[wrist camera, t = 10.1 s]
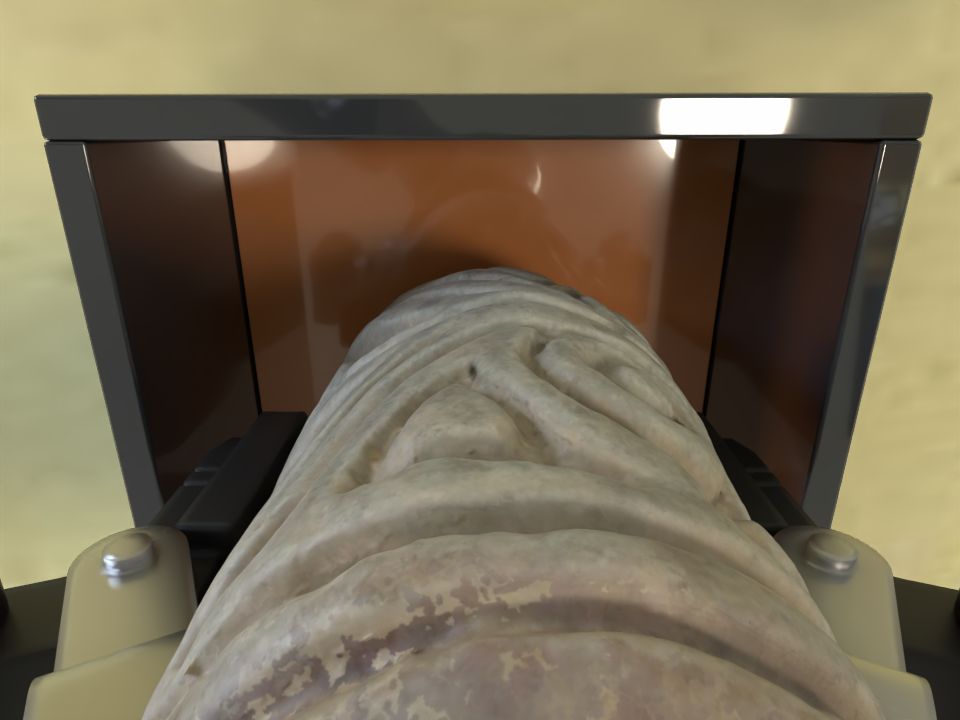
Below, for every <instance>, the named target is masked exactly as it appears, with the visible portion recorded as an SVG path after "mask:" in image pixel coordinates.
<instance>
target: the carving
mask: <svg viewBox="0 0 960 720" xmlns="http://www.w3.org/2000/svg"><path fill="white" fill-rule="evenodd" d="M142 720H886V718H885V715H884V713H883V711H882V709H881V707H880V705H879V703H878V701H877V699H876V697H875V695H874V693H873V692H872V690H871V688H870V686H869V685H868V683H867V682H866V680H865V679H864V677H863V676H862V674H861V673H860V672H859V670H858V669H857V667H856V666H855V665H854V664H853V662H852V661H851V660H850V659H849V658H848V656H847V655H846V654H845V653H844V652H843V650H842V649H841V648H840V647H839V646H838V645H837V642H836V639H835V637H834V634H833V632H832V630H831V628H830V626H829V624H828V622H827V621H826V619H825V618H824V616H823V614H822V613H821V611H820V610H819V608H818V606H817V605H816V603H815V602H814V601H813V599H812V598H811V597H810V594H809V591H808V589H807V587H806V584H805V582H804V580H803V579H802V577H801V575H800V573H799V572H798V570H797V569H796V566H795V564H794V563H793V562H792V560H791V559H790V558H789V557H788V556H787V554H786V553H785V552H784V550H783V549H782V548H781V547H780V545H779V544H778V543H777V542H776V541H775V540H774V539H773V537H772V536H771V535H770V534H769V533H768V532H767V531H766V530H765V529H764V528H763V527H762V526H760V525H759V524H758V523H756V522H754V521H751V519H750V516H749V514H748V512H747V510H746V508H745V506H744V504H743V503H742V502H741V500H740V498H739V496H738V494H737V493H736V491H735V489H734V487H733V485H732V483H731V482H730V480H729V478H728V476H727V474H726V472H725V470H724V468H723V466H722V464H721V462H720V460H719V458H718V456H717V454H716V452H715V450H714V447H713V445H712V442H711V439H710V437H709V435H708V433H707V430H706V428H705V426H704V424H703V422H702V420H701V419H700V417H699V416H698V414H697V413H696V411H695V410H694V409H693V408H692V406H691V405H690V404H689V402H688V401H687V399H686V397H685V396H684V394H683V393H682V391H681V390H680V388H679V387H678V386H677V385H676V383H675V382H674V381H673V378H672V376H671V373H670V371H669V370H668V368H667V367H666V365H665V364H664V362H663V361H662V360H661V359H660V357H659V356H658V355H657V354H656V353H655V351H654V350H653V349H652V347H651V346H650V344H649V342H648V341H647V339H646V338H645V336H644V335H643V334H642V333H641V332H640V331H639V330H638V329H637V328H636V326H635V325H634V324H633V323H632V322H631V321H629V320H628V319H627V318H625V317H624V316H622V315H621V314H619V313H617V312H614V311H611V310H610V309H608V308H607V307H606V306H605V305H603V304H602V303H600V302H599V301H597V300H596V299H594V298H592V297H591V296H586V295H584V296H583V295H582V294H581V293H580V292H579V291H577V290H575V289H573V288H571V287H569V286H566V285H558V284H557V283H556V282H555V281H553V280H551V279H550V278H548V277H545V276H543V275H541V274H538V273H535V272H532V271H528V270H524V269H520V268H515V267H491V268H488V269H472V270H465V271H460V272H456V273H453V274H450V275H447V276H445V277H442V278H438V279H435V280H433V281H430V282H427V283H424V284H422V285H419V286H417V287H415V288H412V289H411V290H409V291H407V292H405V293H403V294H402V295H401V296H399V297H398V298H396V299H395V300H394V301H393V302H392V303H391V304H390V305H389V306H388V307H387V308H386V309H385V310H384V311H383V312H382V313H381V314H380V315H379V316H378V317H376V318H375V319H373V320H372V321H371V322H369V323H368V324H367V325H366V326H365V327H364V328H363V329H362V331H361V332H360V333H359V334H358V336H357V337H356V339H355V340H354V342H353V343H352V345H351V347H350V349H349V351H348V353H347V355H346V357H345V359H344V361H343V363H342V365H341V366H340V368H339V369H338V371H337V372H336V374H335V376H334V378H333V379H332V381H331V382H330V384H329V385H328V387H327V388H326V390H325V392H324V393H323V395H322V397H321V399H320V401H319V403H318V405H317V406H316V407H315V409H314V410H313V412H312V413H311V415H310V416H309V418H308V420H307V422H306V423H305V426H304V428H303V430H302V431H301V433H300V435H299V437H298V439H297V441H296V443H295V445H294V447H293V449H292V451H291V453H290V455H289V457H288V459H287V461H286V464H285V466H284V468H283V470H282V472H281V474H280V476H279V478H278V481H277V483H276V486H275V488H274V491H273V493H272V495H271V497H270V498H269V500H268V501H267V502H266V504H265V505H264V506H263V508H262V509H261V510H260V511H259V513H258V514H257V515H256V517H255V518H254V520H253V521H252V522H251V524H250V525H249V527H248V528H247V530H246V531H245V533H244V534H243V536H242V537H241V539H240V540H239V542H238V543H237V544H236V546H235V547H234V549H233V550H232V552H231V553H230V555H229V556H228V558H227V559H226V561H225V563H224V564H223V566H222V567H221V569H220V570H219V572H218V573H217V575H216V577H215V578H214V580H213V582H212V583H211V585H210V587H209V589H208V590H207V592H206V594H205V596H204V598H203V600H202V601H201V603H200V605H199V607H198V609H197V610H196V612H195V614H194V616H193V618H192V620H191V622H190V624H189V626H188V629H187V631H186V633H185V635H184V637H183V639H182V641H181V643H180V645H179V647H178V649H177V651H176V653H175V654H174V656H173V658H172V660H171V662H170V663H169V665H168V667H167V669H166V671H165V672H164V674H163V676H162V678H161V679H160V681H159V683H158V685H157V687H156V689H155V691H154V693H153V695H152V697H151V699H150V701H149V703H148V705H147V707H146V709H145V712H144V715H143V718H142Z"/></svg>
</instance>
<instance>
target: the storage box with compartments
mask: <svg viewBox="0 0 960 720" xmlns="http://www.w3.org/2000/svg"><path fill="white" fill-rule="evenodd" d="M932 99H933V97H932V94H930V93H928V92H898V93H372V94H38V95H36V96H34V102H35V106H36V111H37V115H38V119H39V123H40V127H41V132H42V136H43V137H44V139H46V140H49V141H47V142H45V143H44V147H45V151H46V155H47V159H48V164H49V168H50V172H51V176H52V180H53V185H54V189H55V193H56V197H57V201H58V206H59V210H60V214H61V218H62V222H63V227H64V231H65V235H66V239H67V243H68V248H69V252H70V256H71V260H72V264H73V269H74V273H75V277H76V281H77V286H78V290H79V294H80V298H81V302H82V307H83V311H84V315H85V319H86V323H87V328H88V332H89V336H90V340H91V344H92V349H93V353H94V357H95V361H96V365H97V370H98V374H99V378H100V382H101V386H102V391H103V395H104V399H105V403H106V407H107V412H108V416H109V420H110V424H111V428H112V433H113V437H114V441H115V445H116V449H117V454H118V458H119V462H120V466H121V470H122V475H123V479H124V483H125V487H126V491H127V496H128V500H129V504H130V508H131V512H132V517H133V521H134V525H135V528H137V527H143V526H148V524H149V523H150V522H151V521H152V520H153V518H154V517H155V516H156V515H157V514H158V512H159V511H160V510H161V509H162V508H163V506H164V505H165V504H166V503H167V502H168V500H169V499H170V498H171V497H172V496H173V494H174V493H175V492H176V491H177V490H178V488H179V487H180V486H183V485H184V481H185V480H186V479H187V478H188V476H189V475H190V474H191V473H192V472H195V468H196V467H197V466H198V464H199V463H200V462H201V461H202V460H203V458H204V457H205V456H206V455H207V453H208V452H209V451H211V450H213V449H214V448H216V447H218V446H219V445H221V444H223V443H224V442H226V441H227V440H229V439H231V438H242V437H243V436H244V435H245V433H246V432H247V431H248V429H249V428H250V427H251V426H252V424H253V423H254V422H255V420H256V419H257V418H258V416H259V415H260V414H261V413H262V412H264V411H304V412H305V413H306V414H307V416H308V418H309V416H310V415H311V413H312V412H313V410H314V409H315V407H316V406H317V405H318V403H319V401H320V399H321V397H322V395H323V393H324V392H325V390H326V388H327V387H328V385H329V384H330V382H331V381H332V379H333V378H334V376H335V374H336V372H337V371H338V369H339V368H340V366H341V365H342V363H343V361H344V359H345V357H346V355H347V353H348V351H349V349H350V347H351V345H352V343H353V342H354V340H355V339H356V337H357V336H358V334H359V333H360V332H361V331H362V329H363V328H364V327H365V326H366V325H367V324H368V323H369V322H371V321H372V320H373V319H375V318H376V317H378V316H379V315H380V314H381V313H382V312H383V311H384V310H385V309H386V308H387V307H388V306H389V305H390V304H391V303H392V302H393V301H394V300H395V299H396V298H398V297H399V296H401V295H402V294H403V293H405V292H407V291H409V290H411V289H412V288H415V287H417V286H419V285H422V284H424V283H427V282H430V281H433V280H435V279H438V278H442V277H445V276H447V275H450V274H453V273H456V272H460V271H465V270H472V269H488V268H491V267H515V268H520V269H524V270H528V271H532V272H535V273H538V274H541V275H543V276H545V277H548V278H550V279H551V280H553V281H555V282H556V283H557V284H558V285H566V286H569V287H571V288H573V289H575V290H577V291H579V292H580V293H581V294H582V295H583V296H584V295H586V296H591V297H592V298H594V299H596V300H597V301H599V302H600V303H602V304H603V305H605V306H606V307H607V308H608V309H610V310H611V311H614V312H617V313H619V314H621V315H622V316H624V317H625V318H627V319H628V320H629V321H631V322H632V323H633V324H634V325H635V326H636V328H637V329H638V330H639V331H640V332H641V333H642V334H643V335H644V336H645V338H646V339H647V341H648V342H649V344H650V346H651V347H652V349H653V350H654V351H655V353H656V354H657V355H658V356H659V357H660V359H661V360H662V361H663V362H664V364H665V365H666V367H667V368H668V370H669V371H670V373H671V376H672V378H673V381H674V382H675V383H676V385H677V386H678V387H679V388H680V390H681V391H682V393H683V394H684V396H685V397H686V399H687V401H688V402H689V404H690V405H691V406H692V408H693V409H694V410H695V411H696V412H701V413H702V414H703V415H704V416H705V417H706V419H707V420H708V421H709V423H710V424H711V425H712V426H713V428H714V429H715V430H716V432H717V433H718V434H719V435H720V437H721V438H732V439H733V440H735V441H737V442H738V443H740V444H742V445H743V446H745V447H747V448H748V449H750V450H752V451H753V452H755V453H756V454H757V455H758V457H759V458H760V459H761V460H762V461H763V463H764V464H765V465H766V466H767V467H768V469H769V473H773V474H774V476H775V477H776V478H777V479H778V480H779V482H780V483H781V487H784V488H785V489H786V490H787V491H788V492H789V493H790V495H791V496H792V497H793V498H794V499H795V501H796V502H797V503H798V504H799V505H800V507H801V508H802V509H803V510H804V511H805V513H806V514H807V515H808V516H809V517H810V518H811V520H812V521H813V522H814V523H815V524H816V526H817V527H823V528H828V529H830V528H831V524H832V520H833V515H834V511H835V507H836V503H837V498H838V494H839V490H840V486H841V482H842V477H843V473H844V469H845V465H846V461H847V456H848V452H849V448H850V444H851V440H852V435H853V431H854V427H855V423H856V419H857V414H858V410H859V406H860V402H861V397H862V393H863V389H864V385H865V381H866V376H867V372H868V368H869V364H870V360H871V355H872V351H873V347H874V343H875V339H876V334H877V330H878V326H879V322H880V318H881V313H882V309H883V305H884V301H885V296H886V292H887V288H888V284H889V280H890V275H891V271H892V267H893V263H894V259H895V254H896V250H897V246H898V242H899V238H900V233H901V229H902V225H903V221H904V217H905V212H906V208H907V204H908V200H909V195H910V191H911V187H912V183H913V179H914V174H915V170H916V166H917V162H918V158H919V153H920V149H921V142H920V141H919V140H917V139H919V138H921V137H923V135H924V132H925V128H926V124H927V120H928V116H929V111H930V107H931V103H932Z"/></svg>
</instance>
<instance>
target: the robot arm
mask: <svg viewBox="0 0 960 720" xmlns="http://www.w3.org/2000/svg"><path fill="white" fill-rule="evenodd" d="M696 413H697V414H698V416H699V417H700V419H701V420H702V422H703V424H704V426H705V428H706V430H707V433H708V435H709V437H710V439H711V442H712V445H713V447H714V450H715V452H716V454H717V456H718V458H719V460H720V462H721V464H722V466H723V468H724V470H725V472H726V474H727V476H728V478H729V480H730V482H731V483H732V485H733V487H734V489H735V491H736V493H737V494H738V496H739V498H740V500H741V502H742V503H743V504H744V506H745V508H746V510H747V512H748V514H749V516H750V519H751V521H754V522H756V523H758V524H759V525H760V526H762V527H763V528H764V529H765V530H766V531H767V532H768V533H769V534H770V535H771V536H772V537H773V539H774V540H775V541H776V542H777V543H778V544H779V545H780V547H781V548H782V549H783V550H784V552H785V553H786V554H787V556H788V557H789V558H790V559H791V560H792V562H793V563H794V564H795V566H796V569H797V570H798V572H799V573H800V575H801V577H802V579H803V580H804V582H805V584H806V587H807V589H808V591H809V594H810V597H811V598H812V599H813V601H814V602H815V603H816V605H817V606H818V608H819V610H820V611H821V613H822V614H823V616H824V618H825V619H826V621H827V622H828V624H829V626H830V628H831V630H832V632H833V634H834V637H835V639H836V642H837V645H838V646H839V647H840V648H841V649H842V650H843V652H844V653H845V654H846V655H847V656H848V658H849V659H850V660H851V661H852V662H853V664H854V665H855V666H856V667H857V669H858V670H859V672H860V673H861V674H862V676H863V677H864V679H865V680H866V682H867V683H868V685H869V686H870V688H871V690H872V692H873V693H874V695H875V697H876V699H877V701H878V703H879V705H880V707H881V709H882V711H883V713H884V715H885V718H886V720H960V589H959V590H954V589H949V588H945V587H940V586H935V585H930V584H925V583H920V582H915V581H910V580H905V579H901V578H897V577H893V574H892V570H891V568H890V566H889V564H888V563H887V561H886V560H885V559H884V558H883V557H882V556H881V555H880V554H879V553H878V552H877V551H876V550H874V549H873V548H871V547H870V546H869V545H867V544H865V543H864V542H862V541H860V540H858V539H856V538H854V537H852V536H850V535H847V534H844V533H842V532H839V531H835V530H832V529H828V528H823V527H817V526H816V524H815V523H814V522H813V521H812V520H811V518H810V517H809V516H808V515H807V514H806V513H805V511H804V510H803V509H802V508H801V507H800V505H799V504H798V503H797V502H796V501H795V499H794V498H793V497H792V496H791V495H790V493H789V492H788V491H787V490H786V489H785V488H784V487H781V483H780V482H779V480H778V479H777V478H776V477H775V476H774V474H773V473H769V469H768V467H767V466H766V465H765V464H764V463H763V461H762V460H761V459H760V458H759V457H758V455H757V454H756V453H755V452H753V451H752V450H750V449H748V448H747V447H745V446H743V445H742V444H740V443H738V442H737V441H735V440H733V439H732V438H721V437H720V435H719V434H718V433H717V432H716V430H715V429H714V428H713V426H712V425H711V424H710V423H709V421H708V420H707V419H706V417H705V416H704V415H703V414H702V413H701V412H696ZM307 420H308V416H307V414H306V413H305V412H304V411H264V412H262V413H261V414H260V415H259V416H258V418H257V419H256V420H255V422H254V423H253V424H252V426H251V427H250V428H249V429H248V431H247V432H246V433H245V435H244V436H243V437H242V438H231V439H229V440H227V441H226V442H224V443H223V444H221V445H219V446H218V447H216V448H214V449H213V450H211V451H209V452H208V453H207V455H206V456H205V457H204V458H203V460H202V461H201V462H200V463H199V464H198V466H197V467H196V468H195V472H192V473H191V474H190V475H189V476H188V478H187V479H186V480H185V481H184V485H183V486H180V487H179V488H178V490H177V491H176V492H175V493H174V494H173V496H172V497H171V498H170V499H169V500H168V502H167V503H166V504H165V505H164V506H163V508H162V509H161V510H160V511H159V512H158V514H157V515H156V516H155V517H154V518H153V520H152V521H151V522H150V523H149V524H148V526H143V527H137V528H132V529H128V530H125V531H121V532H118V533H116V534H113V535H110V536H108V537H106V538H104V539H102V540H100V541H98V542H96V543H95V544H93V545H91V546H90V547H89V548H87V549H86V550H84V551H83V552H82V553H81V554H80V555H79V556H78V557H77V558H76V559H75V560H74V561H73V563H72V564H71V566H70V568H69V570H68V574H67V576H66V577H62V578H58V579H53V580H48V581H43V582H38V583H33V584H28V585H23V586H18V587H13V588H8V589H3V586H2V583H1V580H0V720H142V718H143V715H144V712H145V709H146V707H147V705H148V703H149V701H150V699H151V697H152V695H153V693H154V691H155V689H156V687H157V685H158V683H159V681H160V679H161V678H162V676H163V674H164V672H165V671H166V669H167V667H168V665H169V663H170V662H171V660H172V658H173V656H174V654H175V653H176V651H177V649H178V647H179V645H180V643H181V641H182V639H183V637H184V635H185V633H186V631H187V629H188V626H189V624H190V622H191V620H192V618H193V616H194V614H195V612H196V610H197V609H198V607H199V605H200V603H201V601H202V600H203V598H204V596H205V594H206V592H207V590H208V589H209V587H210V585H211V583H212V582H213V580H214V578H215V577H216V575H217V573H218V572H219V570H220V569H221V567H222V566H223V564H224V563H225V561H226V559H227V558H228V556H229V555H230V553H231V552H232V550H233V549H234V547H235V546H236V544H237V543H238V542H239V540H240V539H241V537H242V536H243V534H244V533H245V531H246V530H247V528H248V527H249V525H250V524H251V522H252V521H253V520H254V518H255V517H256V515H257V514H258V513H259V511H260V510H261V509H262V508H263V506H264V505H265V504H266V502H267V501H268V500H269V498H270V497H271V495H272V493H273V491H274V488H275V486H276V483H277V481H278V478H279V476H280V474H281V472H282V470H283V468H284V466H285V464H286V461H287V459H288V457H289V455H290V453H291V451H292V449H293V447H294V445H295V443H296V441H297V439H298V437H299V435H300V433H301V431H302V430H303V428H304V426H305V423H306V422H307Z"/></svg>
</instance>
